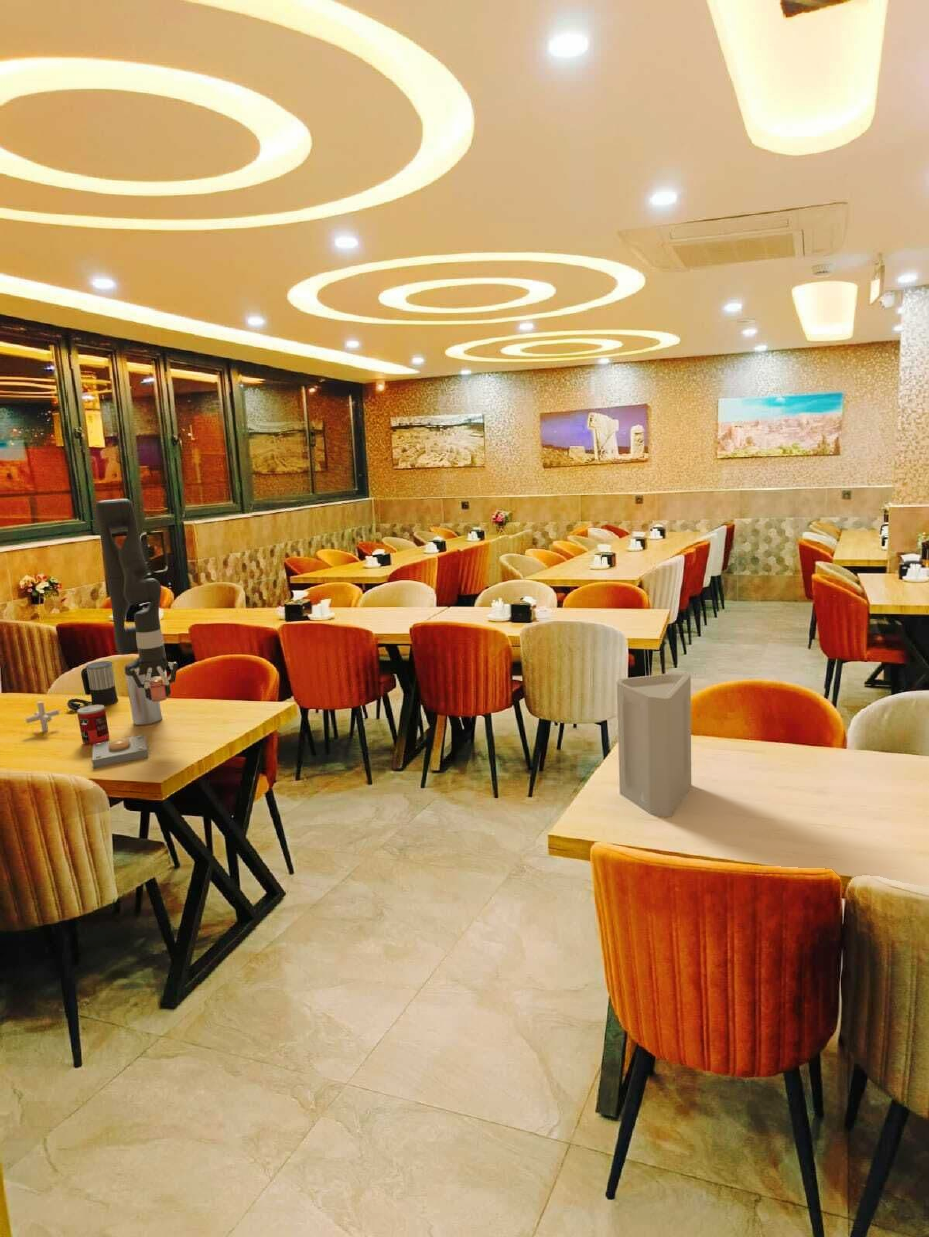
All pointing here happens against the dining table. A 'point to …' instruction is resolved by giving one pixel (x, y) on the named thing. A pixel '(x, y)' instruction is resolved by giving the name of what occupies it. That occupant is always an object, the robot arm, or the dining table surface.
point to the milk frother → (97, 685)
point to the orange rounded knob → (157, 690)
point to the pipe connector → (42, 716)
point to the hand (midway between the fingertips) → (158, 697)
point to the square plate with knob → (119, 751)
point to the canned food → (93, 724)
